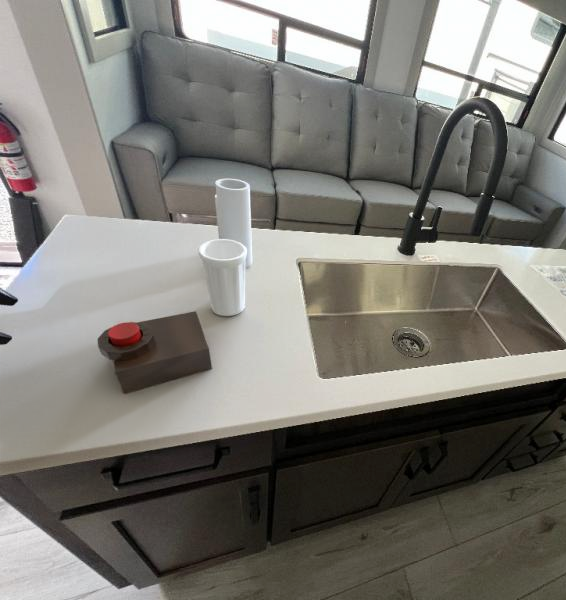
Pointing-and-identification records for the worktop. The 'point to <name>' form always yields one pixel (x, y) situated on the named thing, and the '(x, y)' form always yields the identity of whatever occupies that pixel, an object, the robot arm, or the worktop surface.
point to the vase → (234, 213)
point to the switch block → (159, 352)
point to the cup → (225, 275)
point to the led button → (124, 334)
